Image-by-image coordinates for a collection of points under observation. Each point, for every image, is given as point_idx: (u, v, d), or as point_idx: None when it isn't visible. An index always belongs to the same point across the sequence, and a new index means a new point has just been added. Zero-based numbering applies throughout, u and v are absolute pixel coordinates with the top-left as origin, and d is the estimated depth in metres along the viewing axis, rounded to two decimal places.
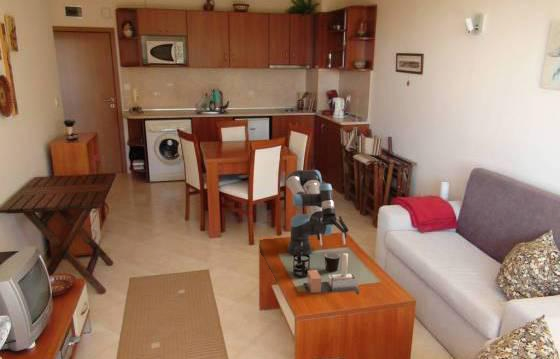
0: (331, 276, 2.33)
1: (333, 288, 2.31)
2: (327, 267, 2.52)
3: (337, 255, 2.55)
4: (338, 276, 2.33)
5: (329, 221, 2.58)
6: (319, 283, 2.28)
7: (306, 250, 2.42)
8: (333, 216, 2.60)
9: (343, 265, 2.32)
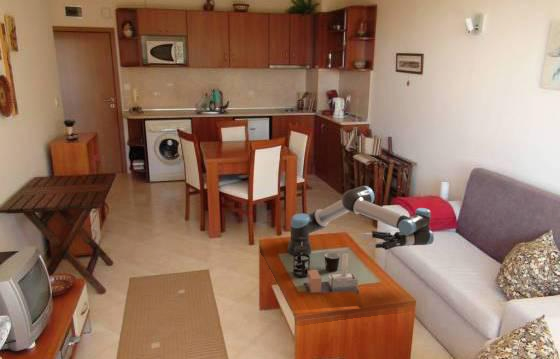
0: (331, 276, 2.33)
1: (333, 288, 2.31)
2: (327, 267, 2.52)
3: (337, 255, 2.55)
4: (338, 276, 2.33)
5: None
6: (319, 283, 2.28)
7: (306, 250, 2.42)
8: None
9: (343, 265, 2.32)
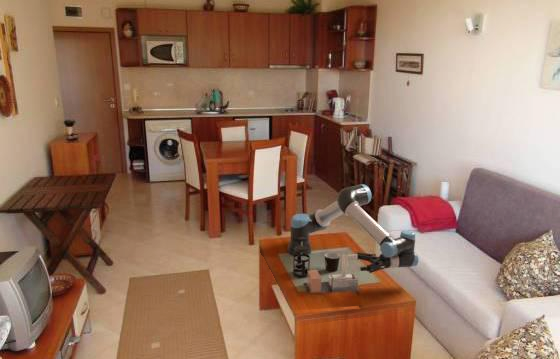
0: (331, 276, 2.33)
1: (333, 288, 2.31)
2: (327, 267, 2.52)
3: (337, 255, 2.55)
4: (338, 276, 2.33)
5: None
6: (319, 283, 2.28)
7: (306, 250, 2.42)
8: None
9: (343, 265, 2.32)
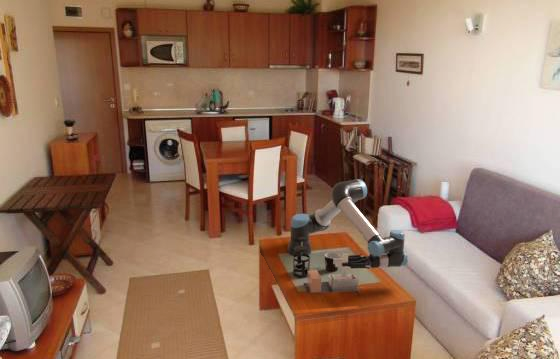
0: (331, 276, 2.33)
1: (333, 288, 2.31)
2: (327, 267, 2.52)
3: (337, 255, 2.55)
4: (338, 276, 2.33)
5: None
6: (319, 283, 2.28)
7: (306, 250, 2.42)
8: None
9: None
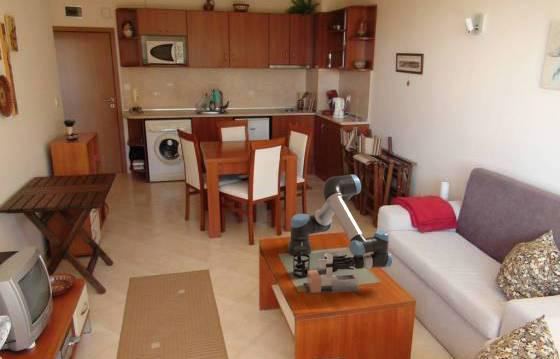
0: None
1: (333, 288, 2.31)
2: None
3: (337, 255, 2.55)
4: (323, 277, 2.32)
5: None
6: (319, 283, 2.28)
7: (306, 250, 2.42)
8: None
9: None
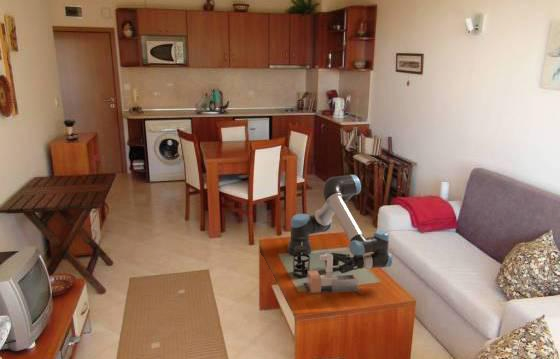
0: None
1: (333, 288, 2.31)
2: None
3: None
4: (323, 277, 2.32)
5: None
6: (319, 283, 2.28)
7: (306, 250, 2.42)
8: None
9: None
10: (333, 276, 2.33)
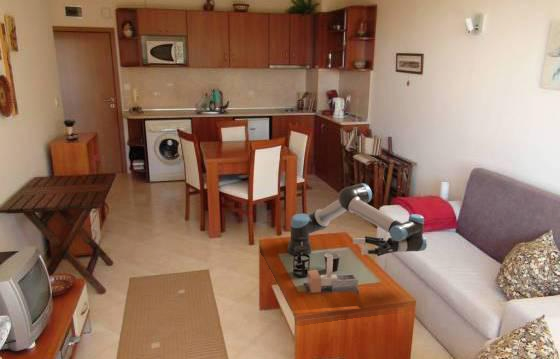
0: None
1: (333, 288, 2.31)
2: None
3: (337, 255, 2.55)
4: (323, 277, 2.32)
5: None
6: (319, 283, 2.28)
7: (306, 250, 2.42)
8: None
9: (328, 266, 2.30)
10: (333, 276, 2.33)
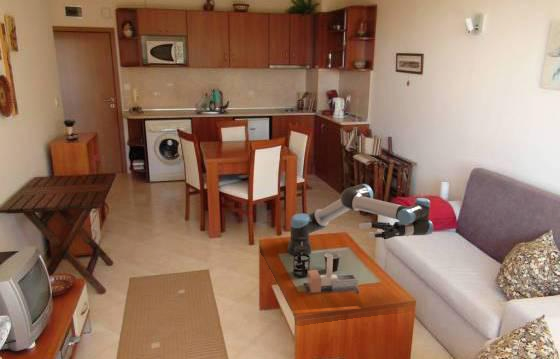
0: None
1: (333, 288, 2.31)
2: None
3: (337, 255, 2.55)
4: (323, 277, 2.32)
5: None
6: (319, 283, 2.28)
7: (306, 250, 2.42)
8: None
9: (328, 266, 2.30)
10: (333, 276, 2.33)
